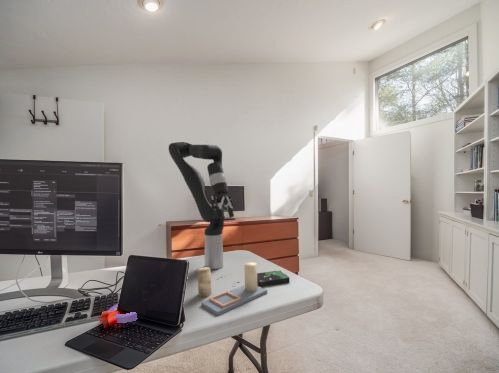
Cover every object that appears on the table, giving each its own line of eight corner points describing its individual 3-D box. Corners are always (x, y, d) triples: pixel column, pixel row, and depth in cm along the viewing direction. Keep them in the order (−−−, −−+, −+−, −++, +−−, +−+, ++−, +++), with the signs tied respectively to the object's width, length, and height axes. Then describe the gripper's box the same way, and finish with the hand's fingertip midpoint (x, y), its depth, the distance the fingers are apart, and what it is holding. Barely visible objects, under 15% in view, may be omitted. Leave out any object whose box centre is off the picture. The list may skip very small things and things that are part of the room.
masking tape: (106, 333, 77) (105, 320, 77) (108, 315, 87) (108, 304, 87) (147, 323, 82) (147, 311, 82) (145, 307, 92) (145, 296, 92)
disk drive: (258, 289, 106) (290, 283, 111) (257, 282, 106) (289, 277, 111) (250, 280, 116) (280, 275, 121) (250, 274, 116) (279, 269, 121)
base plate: (201, 305, 92) (200, 274, 92) (250, 285, 108) (249, 259, 108) (217, 315, 85) (216, 282, 84) (267, 292, 101) (266, 264, 101)
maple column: (196, 294, 101) (195, 269, 101) (206, 290, 105) (206, 266, 105) (202, 298, 98) (202, 272, 97) (213, 294, 101) (213, 269, 101)
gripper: (221, 187, 128) (229, 219, 124) (202, 185, 116) (210, 220, 112) (233, 182, 124) (241, 214, 121) (215, 180, 112) (223, 215, 109)
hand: (226, 217), depth 117 cm, fingers open, 8 cm apart
